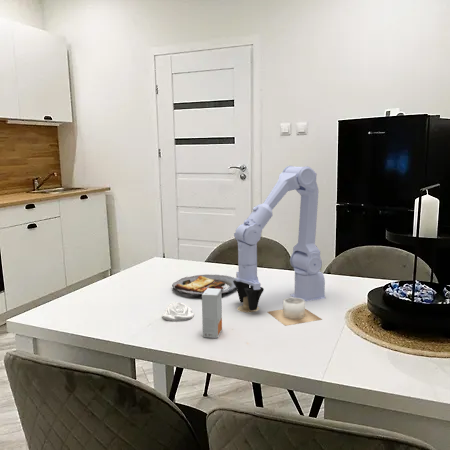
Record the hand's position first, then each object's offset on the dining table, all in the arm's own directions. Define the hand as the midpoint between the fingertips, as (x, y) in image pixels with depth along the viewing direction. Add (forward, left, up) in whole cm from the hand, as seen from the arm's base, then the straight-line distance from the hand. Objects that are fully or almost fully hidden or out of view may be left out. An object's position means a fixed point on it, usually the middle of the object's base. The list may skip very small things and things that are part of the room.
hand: (248, 305), depth 141 cm
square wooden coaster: (-10, +11, -1) cm, 15 cm away
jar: (-10, +11, -1) cm, 15 cm away
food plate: (+5, -27, -2) cm, 28 cm away
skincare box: (+16, +13, -2) cm, 21 cm away
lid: (0, 0, -2) cm, 2 cm away
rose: (+22, -4, -2) cm, 22 cm away
